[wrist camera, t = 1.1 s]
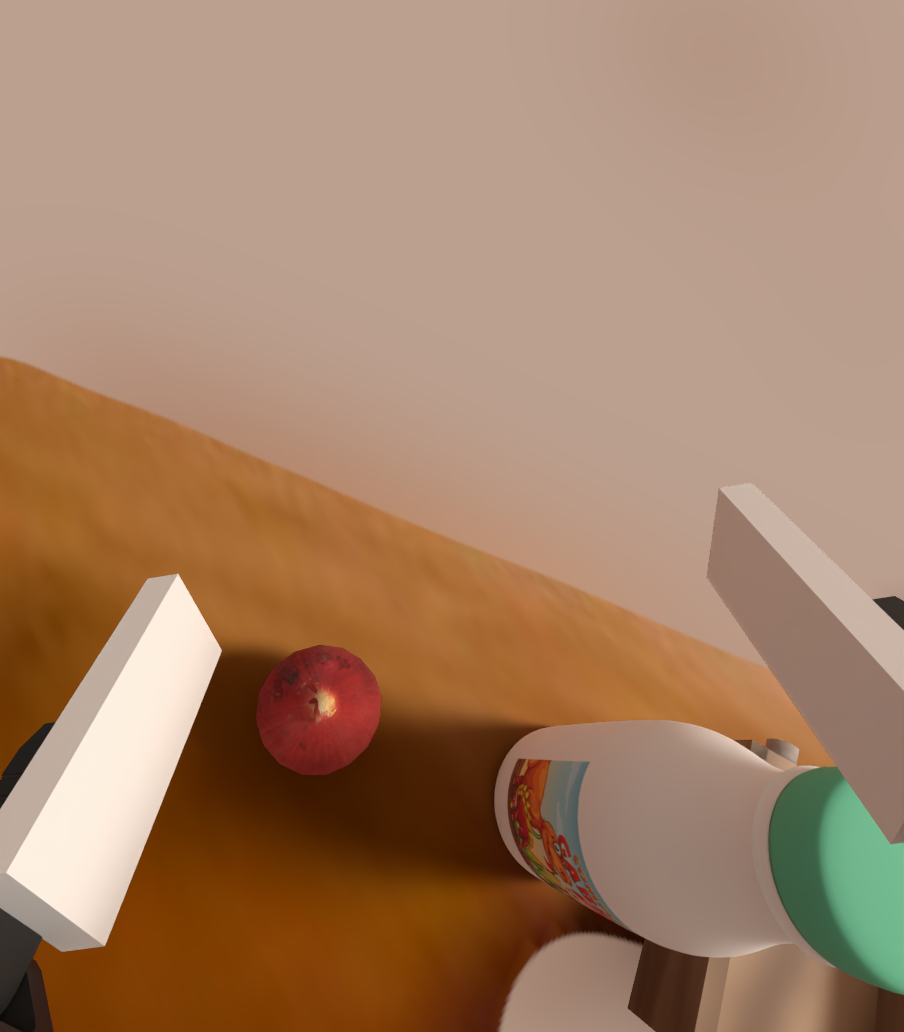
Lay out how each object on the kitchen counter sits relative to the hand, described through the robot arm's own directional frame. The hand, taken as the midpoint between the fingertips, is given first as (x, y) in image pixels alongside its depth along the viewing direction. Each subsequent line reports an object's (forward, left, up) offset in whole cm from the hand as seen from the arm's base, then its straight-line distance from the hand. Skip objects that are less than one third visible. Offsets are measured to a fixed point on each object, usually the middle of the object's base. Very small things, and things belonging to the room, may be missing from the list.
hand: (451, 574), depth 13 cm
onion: (-1, -3, -19) cm, 20 cm away
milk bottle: (+13, -1, -20) cm, 23 cm away
